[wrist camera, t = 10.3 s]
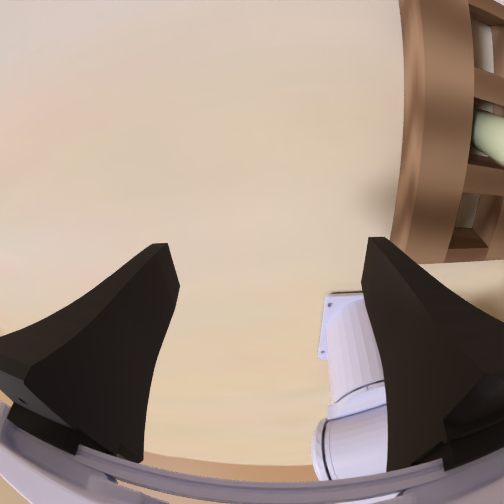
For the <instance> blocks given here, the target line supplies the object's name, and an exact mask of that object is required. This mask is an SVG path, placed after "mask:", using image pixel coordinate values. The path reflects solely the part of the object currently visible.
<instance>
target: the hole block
mask: <svg viewBox="0 0 504 504" xmlns="http://www.w3.org/2000/svg"><path fill="white" fill-rule="evenodd" d="M399 6H400V15H401V24H402V36H403V51H404V127H403V143H402V156H401V167H400V176H399V185H398V192H397V200H396V207H395V213H394V220H393V226H392V231H391V237H390V241H391V242H392V243H393V244H394V245H396V246H397V247H398V248H399V249H400V250H402V251H403V252H404V253H405V254H406V255H407V256H409V257H410V258H411V259H412V260H413V261H415V262H416V263H417V264H433V263H452V262H471V261H488V260H503V259H504V165H503V164H501V163H499V162H498V161H496V160H495V159H493V158H491V157H490V156H488V157H485V156H479V155H473V154H469V149H470V141H471V132H472V121H473V105H474V97H475V98H479V99H482V100H485V101H489V102H492V103H493V114H496V115H499V116H501V117H504V6H503V5H501V4H500V3H498V2H496V1H494V0H399ZM470 17H471V18H473V19H476V20H478V21H480V22H483V23H485V24H487V25H489V26H491V30H492V40H493V55H494V74H493V73H490V72H487V71H484V70H482V69H479V68H476V67H474V52H473V38H472V27H471V18H470ZM462 192H464V193H476V194H481V196H480V200H479V205H478V209H477V213H476V216H475V220H474V224H473V227H472V228H454V226H455V222H456V218H457V214H458V210H459V205H460V201H461V196H462Z"/></svg>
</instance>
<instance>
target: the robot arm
mask: <svg viewBox="0 0 504 504" xmlns="http://www.w3.org/2000/svg"><path fill="white" fill-rule="evenodd" d="M361 285H362V290H363V293H343V294H329V295H327V296H326V297H325V301H324V310H323V319H322V327H321V335H320V342H319V349H318V359H320V360H327V362H328V372H329V383H330V395H331V404H332V405H330V406H327V418H325V419H322V420H321V421H320V422H319V423H318V425H317V427H316V429H315V431H314V433H313V437H312V443H311V455H312V462H313V467H314V470H315V473H316V475H317V477H318V479H319V480H320V481H311V482H252V481H238V480H227V479H217V478H209V477H202V476H195V475H189V474H183V473H178V472H172V471H168V470H163V469H158V468H154V467H150V466H146V465H142V464H138V463H140V462H141V461H143V452H144V431H145V421H146V412H147V405H148V398H149V392H150V387H151V382H152V377H153V372H154V368H155V364H156V360H157V357H158V354H159V351H160V348H161V346H162V343H163V340H164V337H165V335H166V332H167V329H168V327H169V324H170V321H171V318H172V316H173V313H174V310H175V306H176V302H177V298H178V293H179V288H180V284H179V281H178V277H177V274H176V271H175V267H174V264H173V260H172V257H171V253H170V250H169V246H168V243H157V244H152V245H150V246H148V247H147V248H146V249H144V250H143V251H141V252H140V253H139V254H137V255H136V256H135V257H134V258H132V259H131V260H130V261H128V262H127V263H126V264H125V265H123V266H122V267H121V268H120V269H118V270H117V271H116V272H115V273H113V274H112V275H111V276H109V277H108V278H107V279H105V280H104V281H103V282H101V283H100V284H99V285H97V286H96V287H95V288H94V289H92V290H91V291H89V292H88V293H86V294H85V295H84V296H82V297H80V298H79V299H77V300H76V301H74V302H73V303H71V304H70V305H68V306H66V307H64V308H63V309H61V310H59V311H57V312H56V313H54V314H52V315H50V316H48V317H47V318H45V319H43V320H41V321H38V322H36V323H34V324H32V325H30V326H28V327H25V328H23V329H21V330H18V331H15V332H13V333H10V334H7V335H4V336H2V337H0V390H1V391H2V392H3V393H5V394H6V395H7V396H8V397H9V398H10V399H11V400H12V401H13V402H14V403H13V405H12V407H10V406H8V405H7V404H5V403H4V402H2V401H0V475H1V476H2V477H3V478H4V479H5V480H6V481H7V482H8V483H9V484H10V485H11V486H12V487H13V488H14V489H15V490H16V491H17V492H18V493H20V494H21V495H22V496H23V497H24V498H25V499H26V500H28V501H29V502H30V503H31V504H169V503H168V502H166V501H162V500H159V499H156V498H153V497H150V496H148V495H145V494H143V493H141V492H138V491H135V490H133V489H129V488H127V487H124V486H121V485H118V482H117V481H116V479H117V480H120V481H124V482H127V483H130V484H133V485H136V486H140V487H144V488H147V489H151V490H155V491H159V492H164V493H167V494H172V495H177V496H182V497H187V498H193V499H198V500H205V501H212V502H220V503H229V504H504V322H502V321H500V320H498V319H496V318H494V317H492V316H490V315H488V314H487V313H485V312H483V311H482V310H480V309H478V308H477V307H475V306H473V305H472V304H470V303H469V302H467V301H465V300H464V299H463V298H461V297H460V296H458V295H457V294H455V293H454V292H452V291H451V290H450V289H448V288H447V287H446V286H444V285H443V284H442V283H440V282H439V281H438V280H437V279H435V278H434V277H433V276H431V275H430V274H429V273H428V272H427V271H425V270H424V269H423V268H422V267H420V266H419V265H418V264H417V263H416V262H415V261H413V260H412V259H411V258H410V257H409V256H407V255H406V254H405V253H404V252H403V251H402V250H400V249H399V248H398V247H397V246H396V245H394V244H393V243H392V242H391V241H389V240H388V239H387V238H385V237H368V244H367V251H366V257H365V263H364V269H363V275H362V280H361ZM329 303H331V304H329Z"/></svg>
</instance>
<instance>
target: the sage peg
mask: <svg viewBox="0 0 504 504" xmlns="http://www.w3.org/2000/svg"><path fill="white" fill-rule="evenodd" d="M470 146H472V147H474V148H476V149H478V150H479V151H481V152H483V153H485V154H486V155H488V156H490V157H491V158H493V159H495V160H496V161H498V162H499V163H501V164H503V165H504V117H501V116H499V115H496V114H493V113H491V112H488V111H485V110H482V109H479V108H476V107H473V121H472V132H471V141H470Z"/></svg>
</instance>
